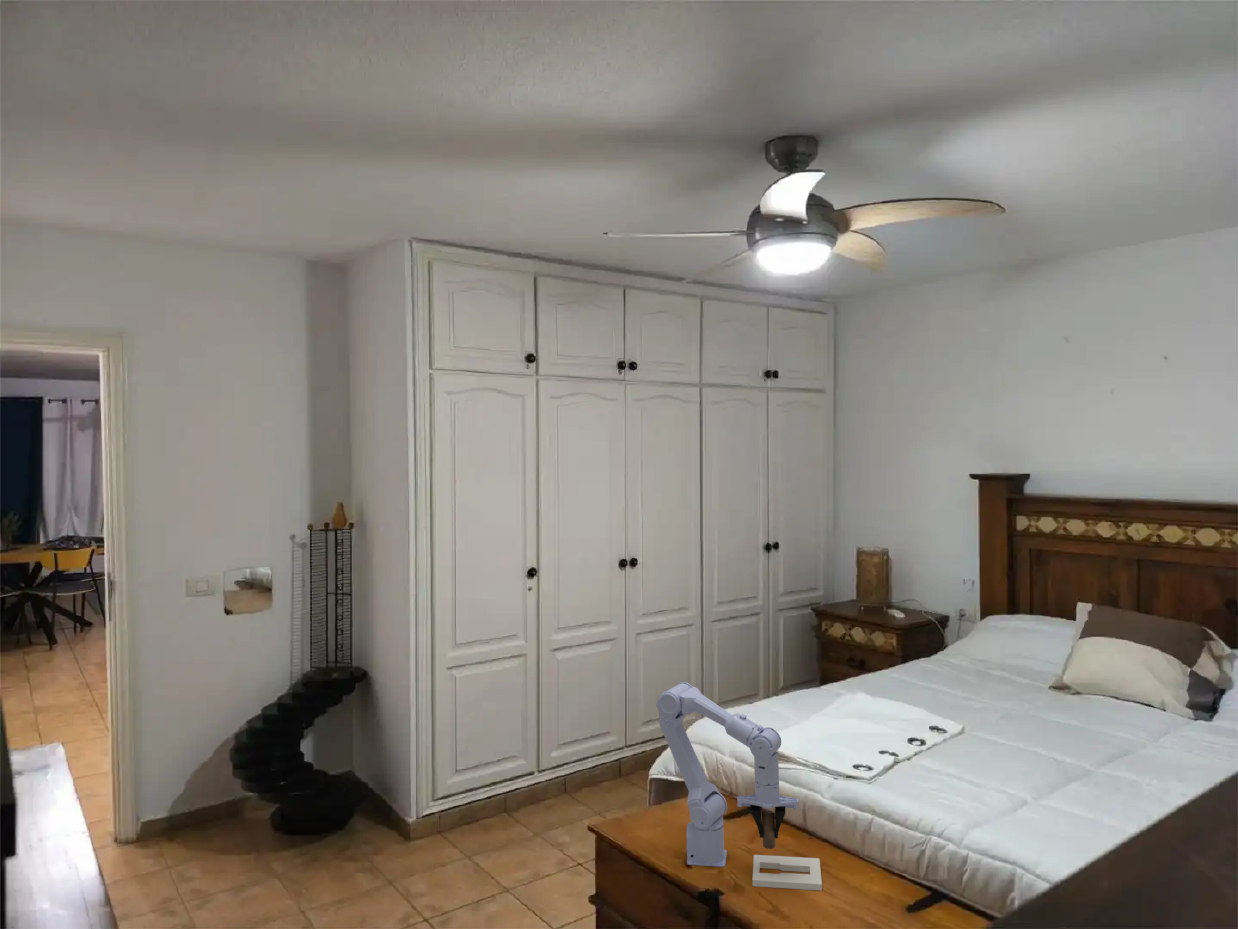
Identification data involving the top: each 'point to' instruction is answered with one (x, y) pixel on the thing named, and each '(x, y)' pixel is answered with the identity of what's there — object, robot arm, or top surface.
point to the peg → (768, 829)
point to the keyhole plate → (787, 879)
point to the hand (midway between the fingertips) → (768, 836)
